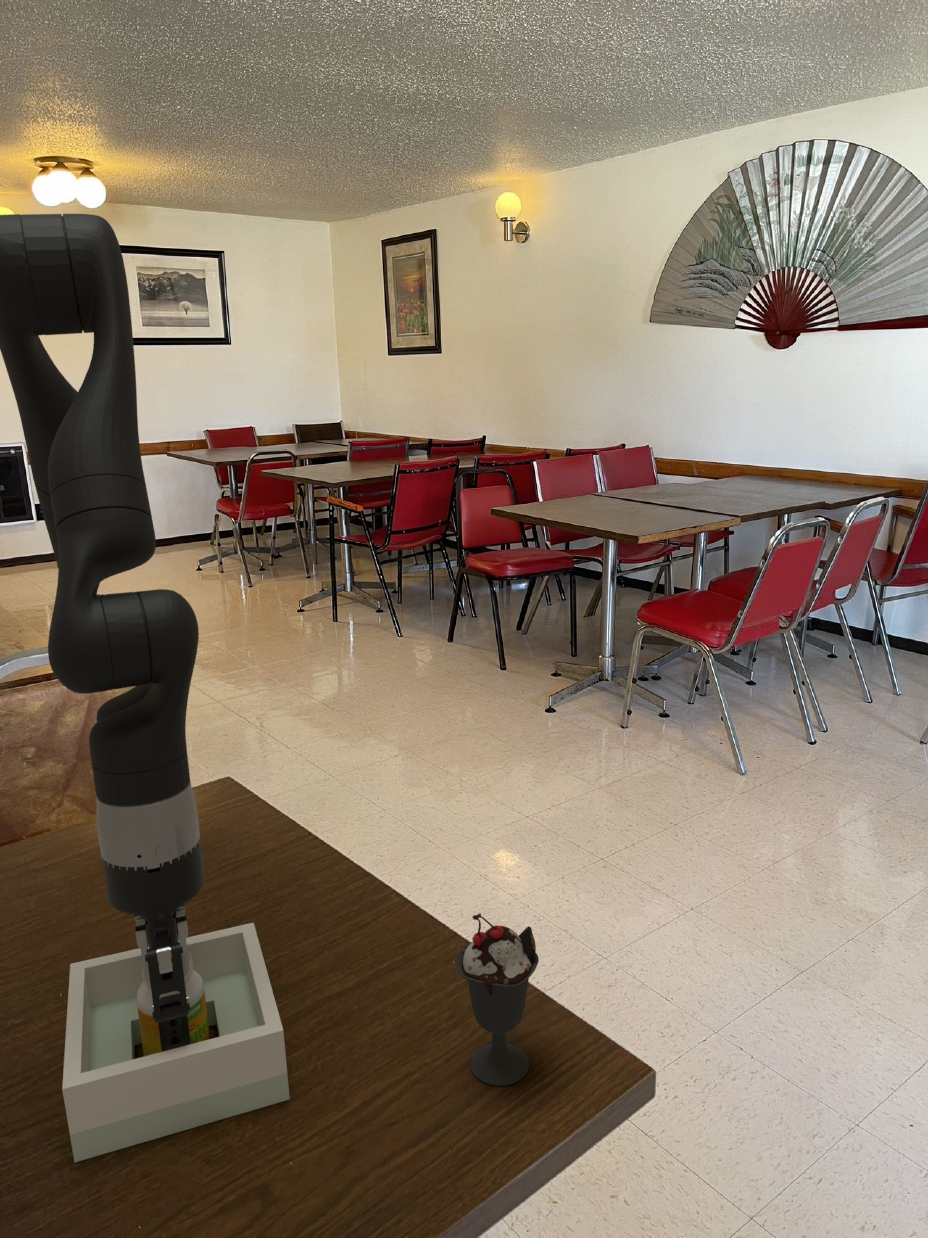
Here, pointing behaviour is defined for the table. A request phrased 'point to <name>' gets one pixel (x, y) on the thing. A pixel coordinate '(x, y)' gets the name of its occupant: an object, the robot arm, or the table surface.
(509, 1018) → the sundae
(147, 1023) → the supplement bottle
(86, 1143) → the bore box
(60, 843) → the table surface
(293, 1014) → the table surface
